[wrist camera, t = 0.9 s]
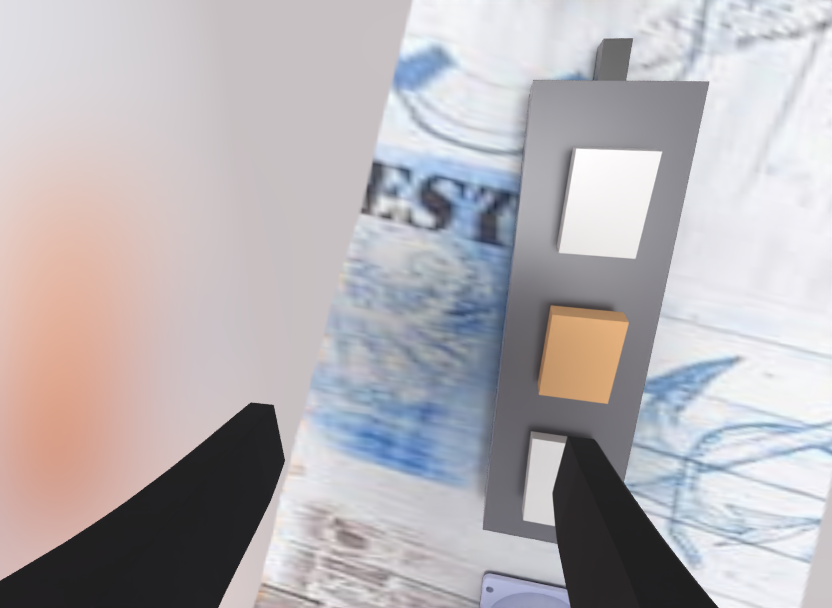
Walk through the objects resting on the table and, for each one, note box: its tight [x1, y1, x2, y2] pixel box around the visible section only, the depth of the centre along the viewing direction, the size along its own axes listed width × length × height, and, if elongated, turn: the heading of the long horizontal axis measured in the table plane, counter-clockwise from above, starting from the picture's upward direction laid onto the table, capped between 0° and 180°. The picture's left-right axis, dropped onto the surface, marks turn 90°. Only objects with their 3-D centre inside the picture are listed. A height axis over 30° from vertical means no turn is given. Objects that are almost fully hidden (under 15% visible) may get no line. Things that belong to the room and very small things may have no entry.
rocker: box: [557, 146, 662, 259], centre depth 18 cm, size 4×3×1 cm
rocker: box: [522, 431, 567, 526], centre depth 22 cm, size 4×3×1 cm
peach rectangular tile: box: [538, 305, 629, 404], centre depth 20 cm, size 4×3×1 cm
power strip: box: [483, 38, 709, 544], centre depth 22 cm, size 26×7×3 cm, turn 177°
